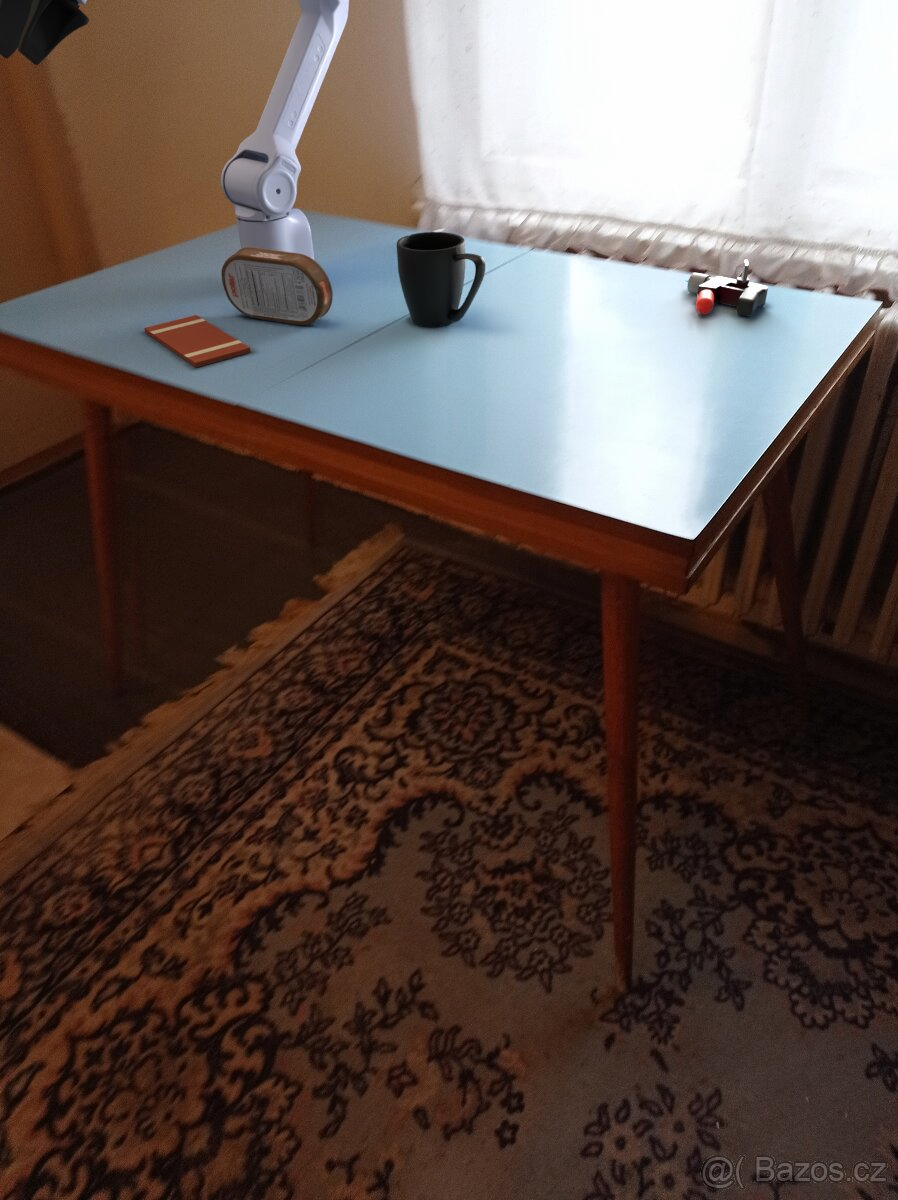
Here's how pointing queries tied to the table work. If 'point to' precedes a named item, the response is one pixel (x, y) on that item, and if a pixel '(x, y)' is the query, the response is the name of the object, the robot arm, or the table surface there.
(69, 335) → the table surface
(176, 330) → the towel
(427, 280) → the mug
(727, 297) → the red and grey device
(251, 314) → the tin
